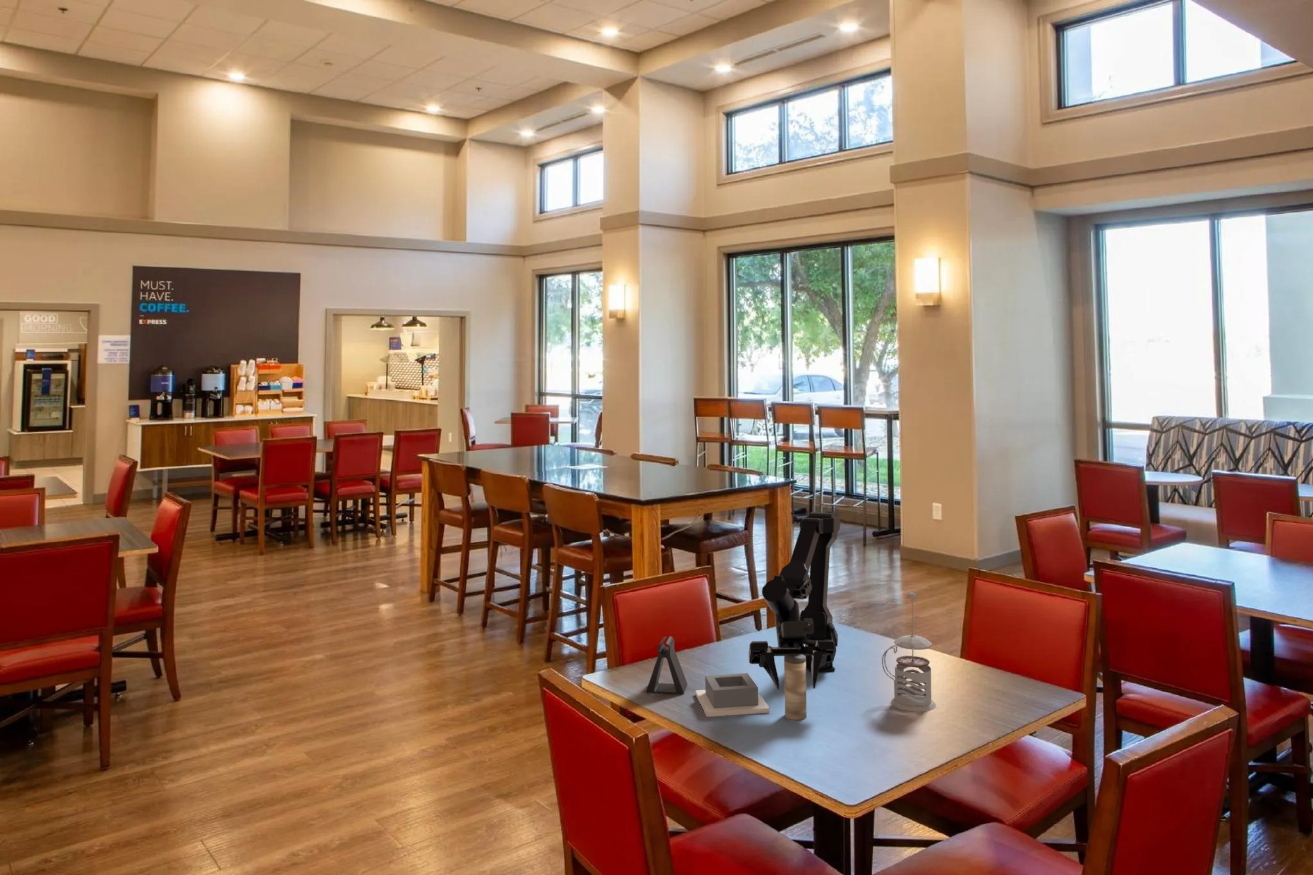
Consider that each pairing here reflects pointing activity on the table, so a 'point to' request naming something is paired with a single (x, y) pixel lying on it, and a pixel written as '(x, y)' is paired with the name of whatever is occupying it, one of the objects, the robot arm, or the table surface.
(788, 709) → the rail post
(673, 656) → the phone stand
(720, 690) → the post socket
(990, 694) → the table surface
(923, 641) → the french press
